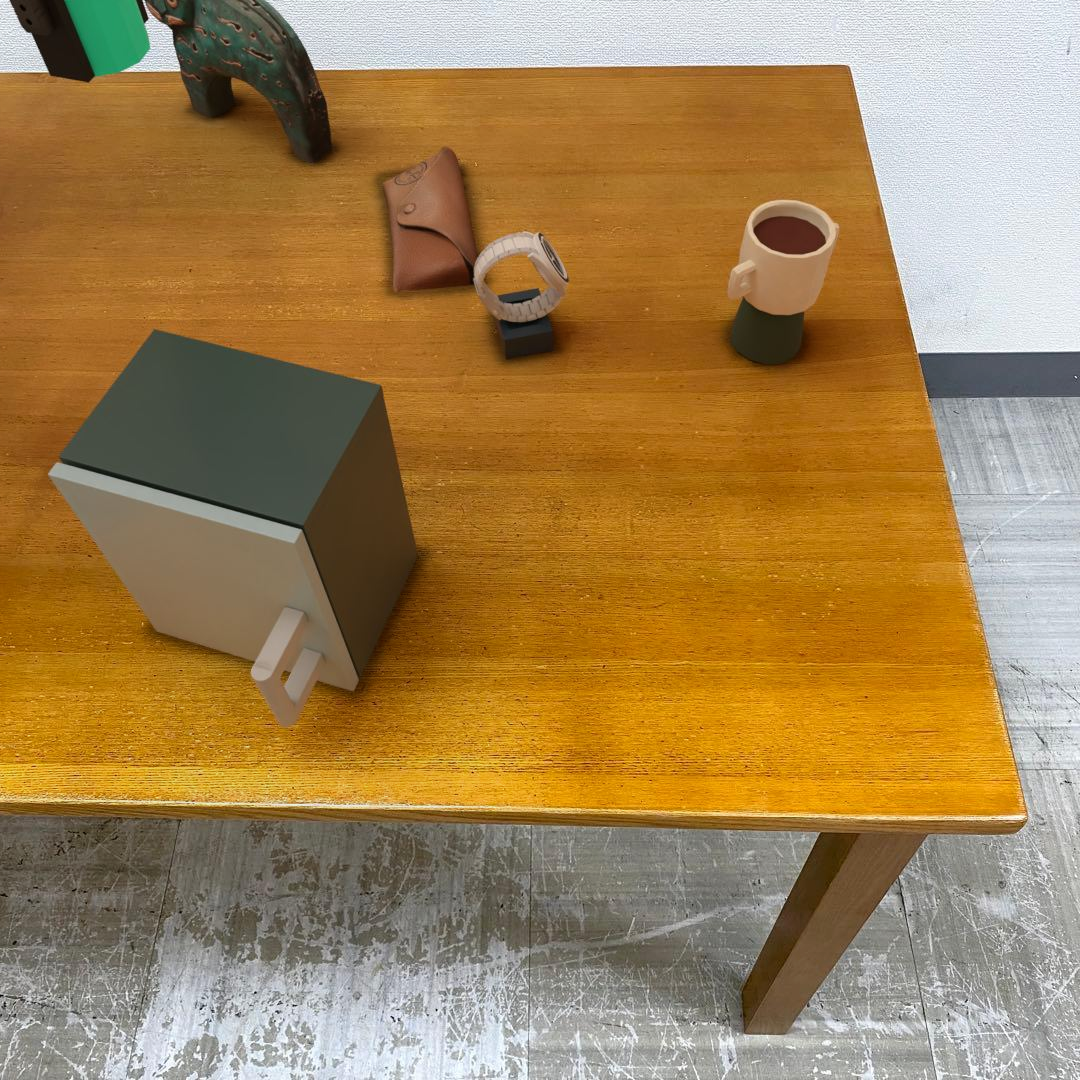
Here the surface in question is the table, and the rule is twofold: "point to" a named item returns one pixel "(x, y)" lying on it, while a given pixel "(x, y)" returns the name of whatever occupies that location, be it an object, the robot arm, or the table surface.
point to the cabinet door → (218, 582)
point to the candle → (110, 33)
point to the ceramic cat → (248, 64)
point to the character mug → (779, 277)
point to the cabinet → (267, 461)
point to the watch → (523, 294)
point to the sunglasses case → (430, 225)
